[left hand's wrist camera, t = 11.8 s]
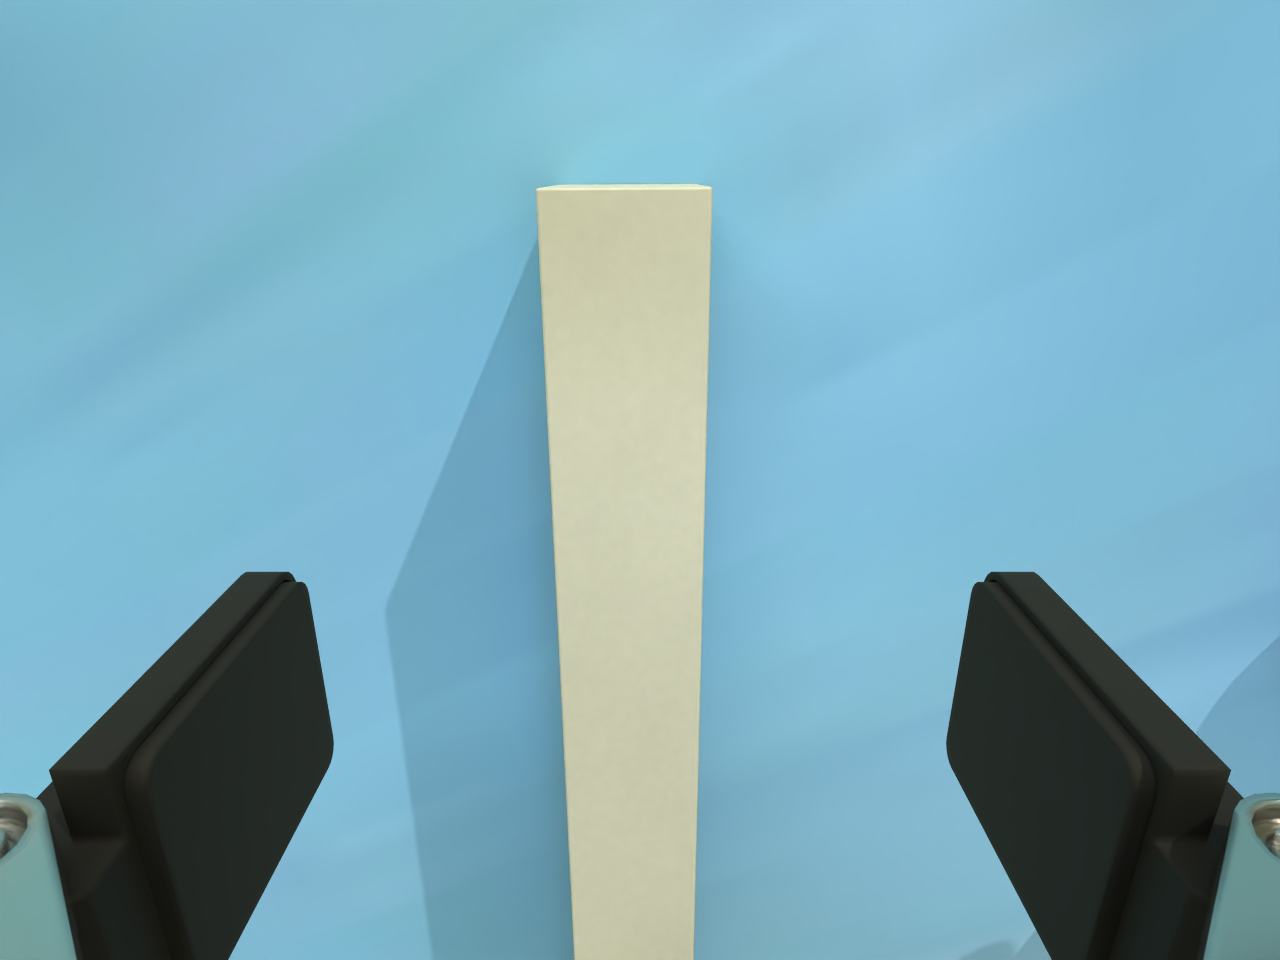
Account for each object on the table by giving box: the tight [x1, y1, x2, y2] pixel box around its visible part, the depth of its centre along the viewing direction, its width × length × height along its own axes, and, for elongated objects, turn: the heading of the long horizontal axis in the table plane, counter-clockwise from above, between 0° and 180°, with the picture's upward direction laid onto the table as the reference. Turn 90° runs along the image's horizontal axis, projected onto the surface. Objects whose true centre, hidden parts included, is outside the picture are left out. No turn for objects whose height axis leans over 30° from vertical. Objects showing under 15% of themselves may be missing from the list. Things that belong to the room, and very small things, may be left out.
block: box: [536, 184, 713, 960], centre depth 41 cm, size 60×6×8 cm, turn 0°
